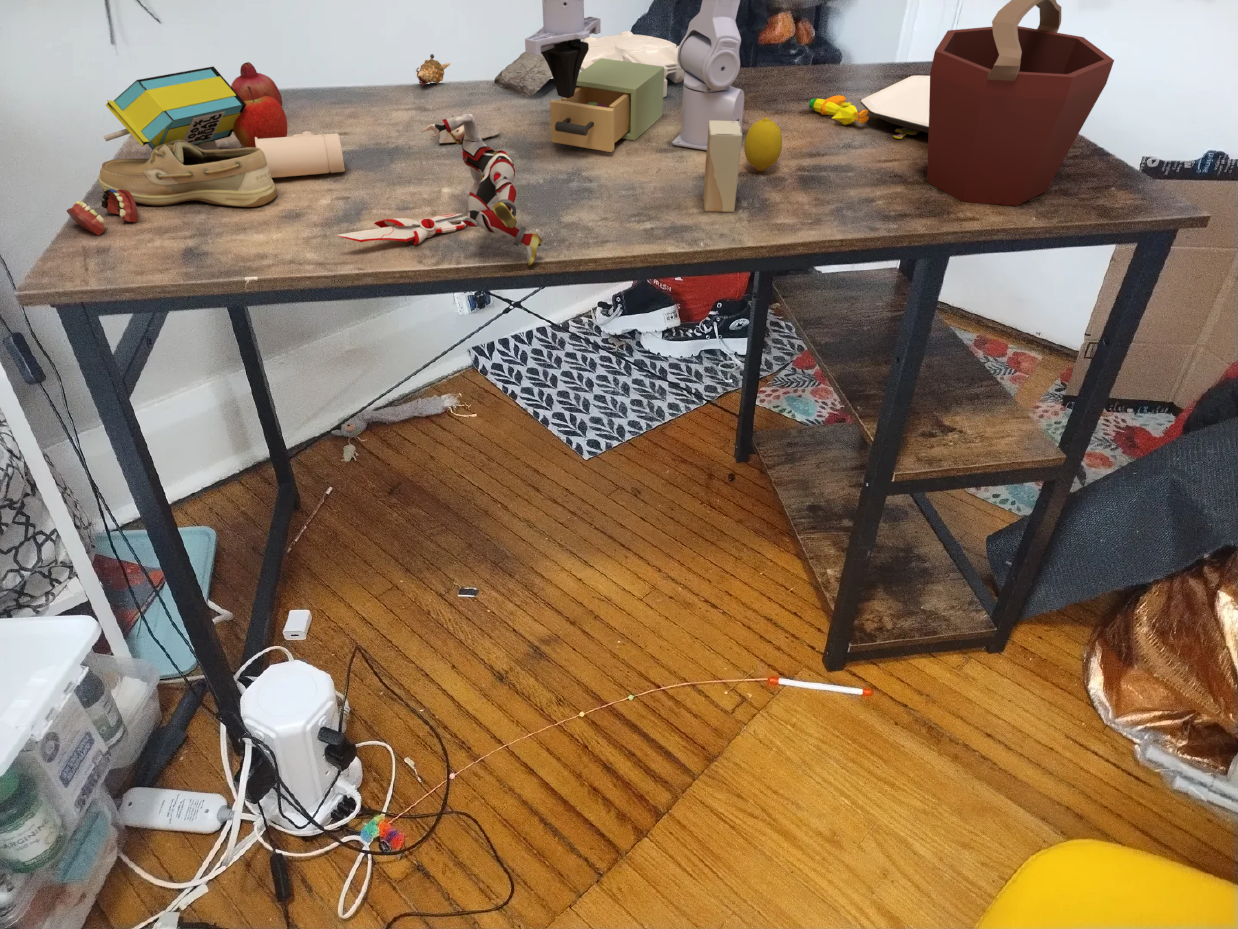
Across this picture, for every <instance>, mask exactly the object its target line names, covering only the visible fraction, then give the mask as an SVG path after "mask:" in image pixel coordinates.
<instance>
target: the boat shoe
mask: <svg viewBox="0 0 1238 929" xmlns="http://www.w3.org/2000/svg"><path fill="white" fill-rule="evenodd" d="M98 186H100V188H101V189H102V190H103V191H105V190H107V189H115V190H120V189H123V190H128V191H129V192H130V193H131V194H132V196H133V198H134V200H135V203H136V204H142V205H146V206H147V205H148V206H170V205H171V206H172V205H175V204H179V203H184V202H188V201H189V202H192V201H200V202H205V203H208V204H213V205H217V206H226V207H238V208H239V207H240V208H256V207H261V206H263V205H266V204H268V203H270V202H271V201H273V200H274V199H275V198H276V197H277V195H278V192H277V191H278V190H277V188H276V185H275V183H274V180H273V179H272V178H271V174H270V171H269V168H268V166H267V162H266V158H265V155H264V153H263V151H262V150H261V149H260V148H256V147H248V148H244V147H239V148H238V147H237V148H230V149H229V148H227V149H223V148H222V149H219V148H218V150H202V149H200V148H198V147H196V146H195V145H193V144H191V143H188V142H186V141H183V140H175V141H170V142H167V143H165V144H162V145H160V146H158V147H156V148H155V149H154V150H152V151H151V154H150V157H149V158H117V159H116V158H115V159H110V160H107V161H104V162H103V163H102V164H101V167H100V170H99V175H98Z"/></svg>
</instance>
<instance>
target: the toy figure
mask: <svg viewBox="0 0 1238 929" xmlns="http://www.w3.org/2000/svg"><path fill="white" fill-rule="evenodd" d="M808 107H809V109H812V111H814V112H817V113H820V114H821V115H823V116H824V115H827V116H832V117H831V119H833V120H835V121H838V122H839V123H841V125H843V126H848V125H850V124H853V123H854V122H856V121H857V122H858V123H859V124H864V123H866V122H867V121H868V120H869V119H870V118H869V116H868V114H869V111H868V110H867V109H862V110H861V111H860V112H858V110H857V107H856V105H854V104H852V102H847V98H846V96H844V95H841V94H838V95H837V94H836V95H833V96H830V97H828V98H826V99H824V98H819V97H816V98H811V99H810V100H809V103H808Z"/></svg>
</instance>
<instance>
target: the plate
mask: <svg viewBox="0 0 1238 929" xmlns="http://www.w3.org/2000/svg"><path fill="white" fill-rule="evenodd" d="M929 98H930V75H922V74H921V75H916V74H914V75H911V76H908V77H906V78H904V79H902V80H900V81H898V82H895V83H894V84H891V85H889V86H887V87H885V88H883V89H881V90H878V91H876V92H874V93H872V94H870V95H868V96H866V97H863V98H862V99H861V100H860V105H862V106H863V107H864V109H865V110H868V113H870V114H871V115H873V116H875V117H877V118H878V119H881V120H883V121H885V122H887V123H889V124H892V125H895V126H899V127H902V128H903V127H907V128H910V129H914V130H918V131H921V132H922V133H926V134H929Z"/></svg>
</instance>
